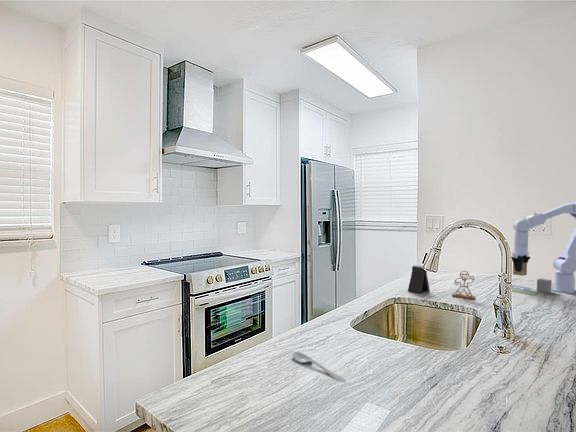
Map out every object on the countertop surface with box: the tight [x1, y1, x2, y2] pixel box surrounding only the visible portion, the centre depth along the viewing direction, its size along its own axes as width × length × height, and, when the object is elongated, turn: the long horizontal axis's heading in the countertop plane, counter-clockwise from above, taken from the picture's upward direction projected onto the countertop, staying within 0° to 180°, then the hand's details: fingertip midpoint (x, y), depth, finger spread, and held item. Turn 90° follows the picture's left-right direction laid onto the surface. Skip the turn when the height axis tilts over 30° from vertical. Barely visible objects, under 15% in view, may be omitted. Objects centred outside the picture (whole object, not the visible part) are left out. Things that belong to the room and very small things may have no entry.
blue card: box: [511, 284, 534, 291], centre depth 179 cm, size 9×9×1 cm
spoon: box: [292, 351, 347, 383], centre depth 89 cm, size 4×21×2 cm, turn 41°
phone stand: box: [407, 265, 431, 295], centre depth 170 cm, size 9×6×12 cm, turn 127°
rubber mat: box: [511, 288, 540, 296], centre depth 171 cm, size 6×12×1 cm, turn 37°
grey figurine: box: [451, 270, 476, 301], centre depth 160 cm, size 9×4×12 cm, turn 52°
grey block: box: [536, 278, 552, 294], centre depth 172 cm, size 4×4×6 cm
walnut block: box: [512, 262, 528, 277], centre depth 179 cm, size 4×4×6 cm
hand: (520, 270), depth 179 cm, fingers closed on walnut block, 4 cm apart
